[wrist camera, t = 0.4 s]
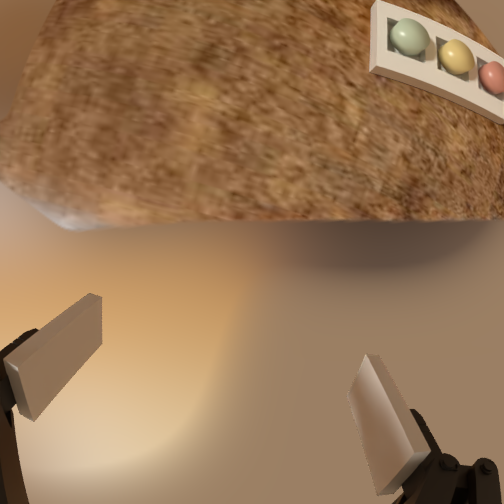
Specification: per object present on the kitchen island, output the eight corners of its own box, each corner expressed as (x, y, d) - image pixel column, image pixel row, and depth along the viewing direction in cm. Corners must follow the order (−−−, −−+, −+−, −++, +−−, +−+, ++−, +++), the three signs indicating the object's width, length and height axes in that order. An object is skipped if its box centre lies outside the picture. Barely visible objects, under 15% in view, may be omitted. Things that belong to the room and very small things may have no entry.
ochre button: (437, 40, 29) (446, 33, 26) (463, 53, 29) (473, 47, 26) (438, 68, 31) (448, 62, 28) (464, 80, 31) (475, 75, 28)
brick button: (477, 60, 29) (487, 55, 26) (498, 73, 29) (509, 69, 26) (479, 87, 30) (490, 83, 28) (500, 99, 30) (511, 96, 28)
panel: (370, 8, 31) (376, -1, 28) (496, 64, 31) (505, 60, 28) (369, 72, 34) (376, 65, 31) (499, 124, 34) (510, 122, 31)
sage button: (389, 22, 29) (396, 13, 27) (420, 33, 29) (428, 25, 26) (389, 49, 31) (397, 41, 28) (421, 60, 31) (430, 54, 28)
